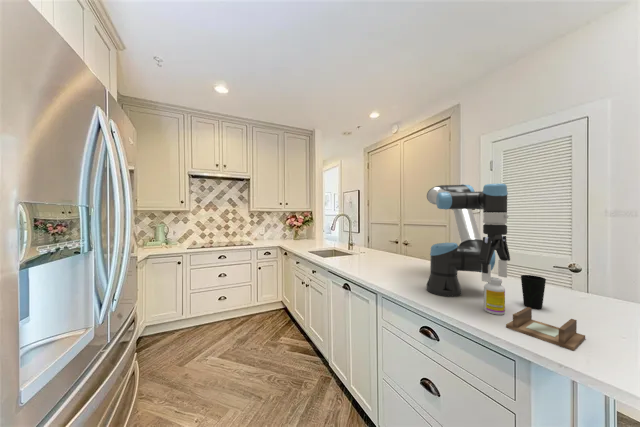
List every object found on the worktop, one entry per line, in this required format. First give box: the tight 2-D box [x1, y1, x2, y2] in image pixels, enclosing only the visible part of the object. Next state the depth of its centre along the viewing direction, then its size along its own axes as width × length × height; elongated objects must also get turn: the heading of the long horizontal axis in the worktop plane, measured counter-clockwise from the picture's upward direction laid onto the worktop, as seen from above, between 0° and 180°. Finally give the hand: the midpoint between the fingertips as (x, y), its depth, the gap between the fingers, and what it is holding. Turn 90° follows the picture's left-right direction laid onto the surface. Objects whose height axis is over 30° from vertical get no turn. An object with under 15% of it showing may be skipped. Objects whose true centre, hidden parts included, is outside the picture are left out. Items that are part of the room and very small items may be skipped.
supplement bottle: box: [483, 276, 506, 316], centre depth 94 cm, size 7×7×13 cm
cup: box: [520, 274, 547, 310], centre depth 99 cm, size 8×8×12 cm
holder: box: [505, 306, 586, 352], centre depth 77 cm, size 16×12×5 cm
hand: (494, 279), depth 93 cm, fingers open, 13 cm apart
